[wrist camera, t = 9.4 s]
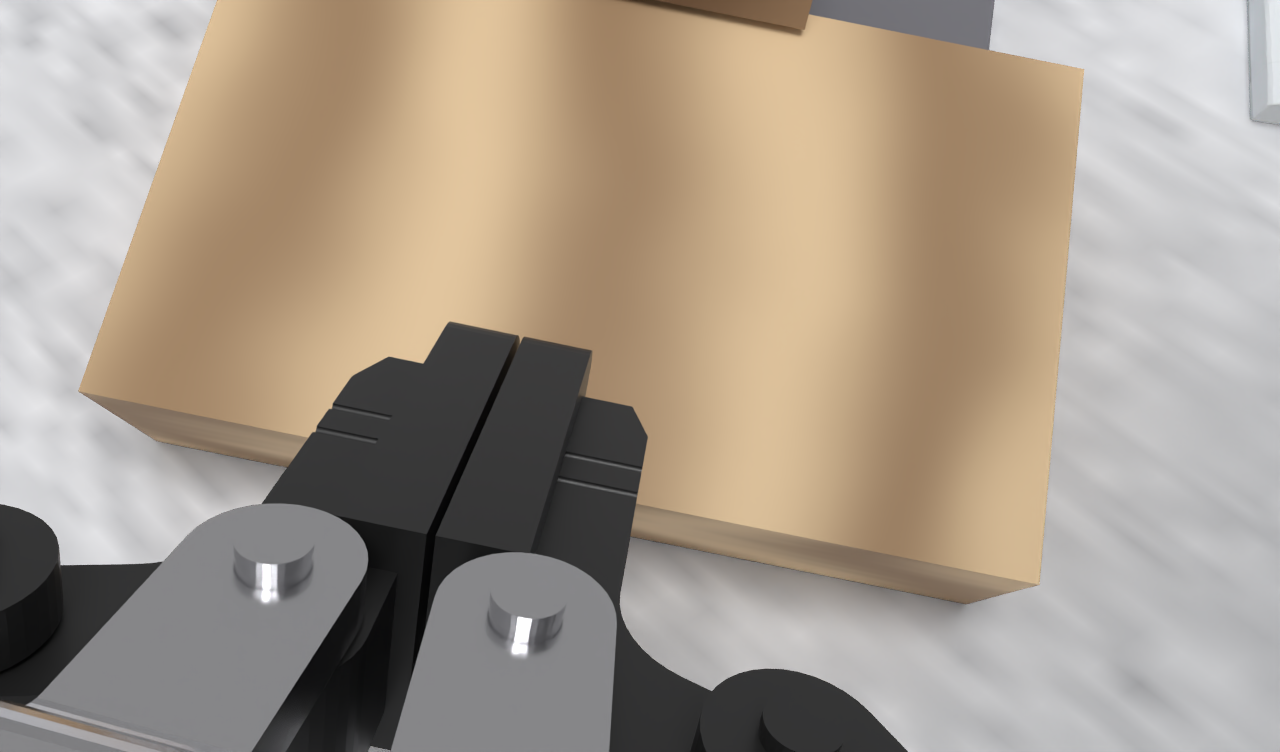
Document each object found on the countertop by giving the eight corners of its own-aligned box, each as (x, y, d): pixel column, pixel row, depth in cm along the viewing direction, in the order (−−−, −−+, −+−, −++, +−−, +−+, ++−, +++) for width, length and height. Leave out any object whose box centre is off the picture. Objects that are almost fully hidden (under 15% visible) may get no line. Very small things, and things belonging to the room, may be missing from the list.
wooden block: (1013, 158, 28) (1084, 69, 24) (966, 603, 24) (1039, 584, 20) (296, 14, 28) (251, -97, 24) (156, 441, 24) (77, 391, 21)
